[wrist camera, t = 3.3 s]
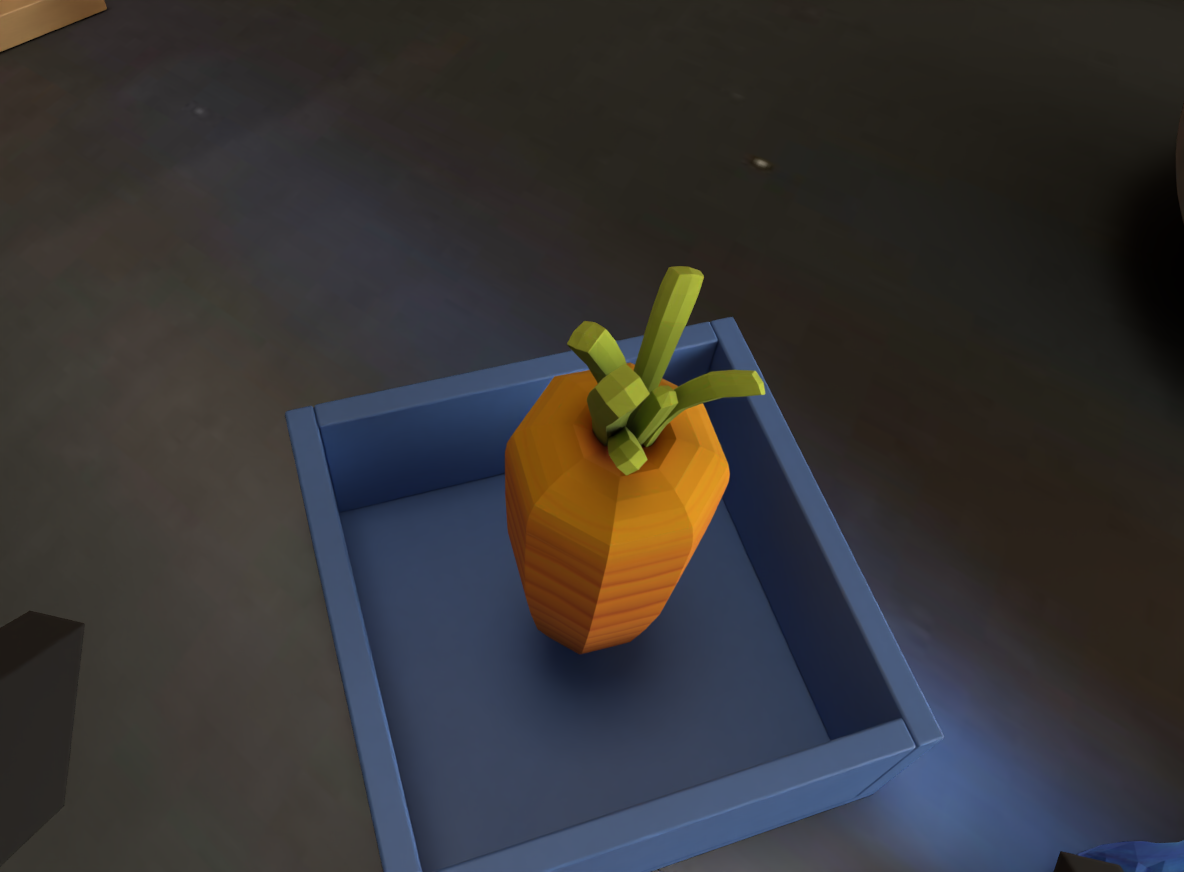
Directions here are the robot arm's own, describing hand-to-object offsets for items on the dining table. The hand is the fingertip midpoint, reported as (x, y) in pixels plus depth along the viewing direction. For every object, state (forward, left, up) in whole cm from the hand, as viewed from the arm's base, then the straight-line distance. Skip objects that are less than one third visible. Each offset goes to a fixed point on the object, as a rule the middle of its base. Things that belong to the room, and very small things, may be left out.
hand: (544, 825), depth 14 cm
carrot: (+4, +8, -15) cm, 18 cm away
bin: (+4, +8, -16) cm, 18 cm away
